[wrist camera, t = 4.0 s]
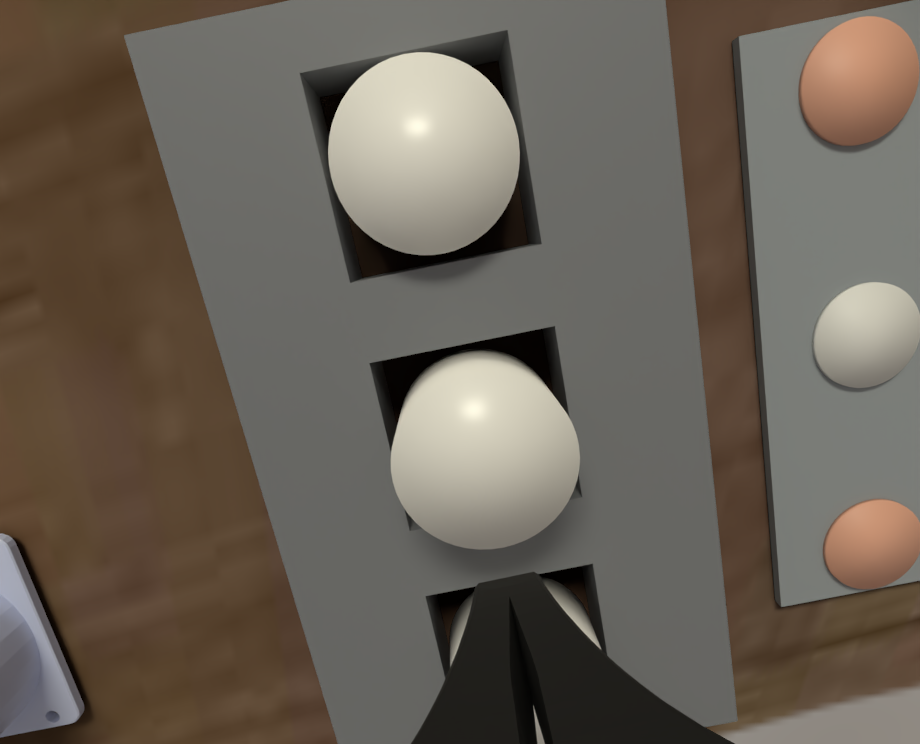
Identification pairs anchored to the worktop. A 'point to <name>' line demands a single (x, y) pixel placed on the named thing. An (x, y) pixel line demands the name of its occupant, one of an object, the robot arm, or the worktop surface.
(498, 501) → the button middle
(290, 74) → the button board
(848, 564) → the pattern card
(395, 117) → the button front
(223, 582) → the worktop surface
